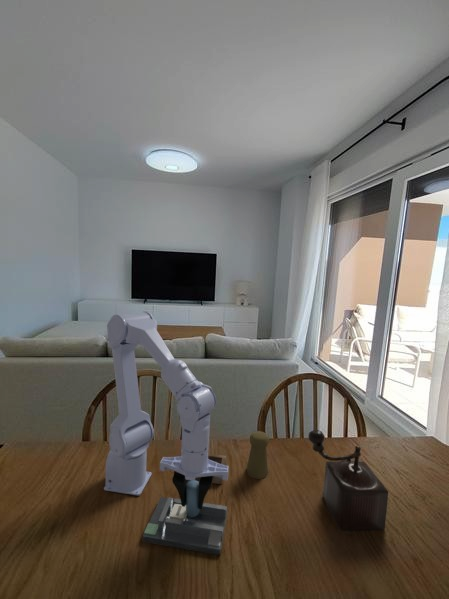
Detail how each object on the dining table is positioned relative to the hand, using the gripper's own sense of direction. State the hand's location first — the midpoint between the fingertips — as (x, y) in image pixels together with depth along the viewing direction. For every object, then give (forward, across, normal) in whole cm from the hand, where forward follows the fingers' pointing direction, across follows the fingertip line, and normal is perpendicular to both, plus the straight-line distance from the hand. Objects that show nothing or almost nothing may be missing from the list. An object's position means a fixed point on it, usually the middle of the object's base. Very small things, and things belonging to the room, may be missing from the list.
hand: (192, 504), depth 63 cm
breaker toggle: (+4, -3, 0) cm, 5 cm away
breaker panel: (+5, -1, 0) cm, 5 cm away
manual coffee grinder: (+5, +34, +11) cm, 36 cm away
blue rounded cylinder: (+2, 0, 0) cm, 2 cm away
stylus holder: (+5, +1, +18) cm, 18 cm away
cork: (+5, +14, +21) cm, 25 cm away
